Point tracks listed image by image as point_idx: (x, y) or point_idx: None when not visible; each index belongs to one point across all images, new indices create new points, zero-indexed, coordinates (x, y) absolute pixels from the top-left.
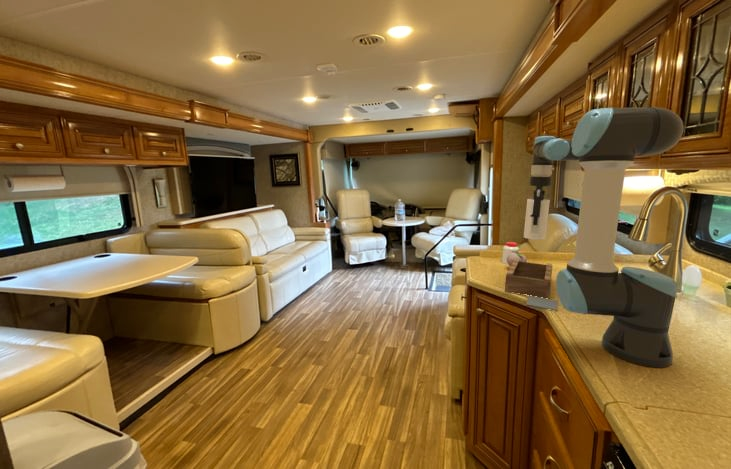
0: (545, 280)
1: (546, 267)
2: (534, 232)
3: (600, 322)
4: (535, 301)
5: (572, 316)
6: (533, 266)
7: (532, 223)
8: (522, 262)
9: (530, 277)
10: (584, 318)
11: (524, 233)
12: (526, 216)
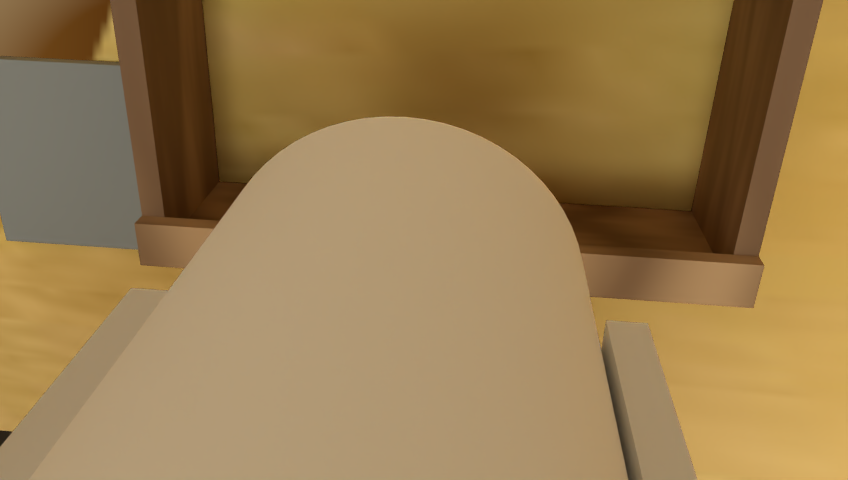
0: (140, 228)
1: None
2: None
3: (23, 411)
4: (62, 117)
5: (2, 304)
6: (752, 120)
7: (31, 438)
8: (791, 3)
9: (721, 68)
10: (20, 354)
11: (300, 158)
12: (128, 411)
